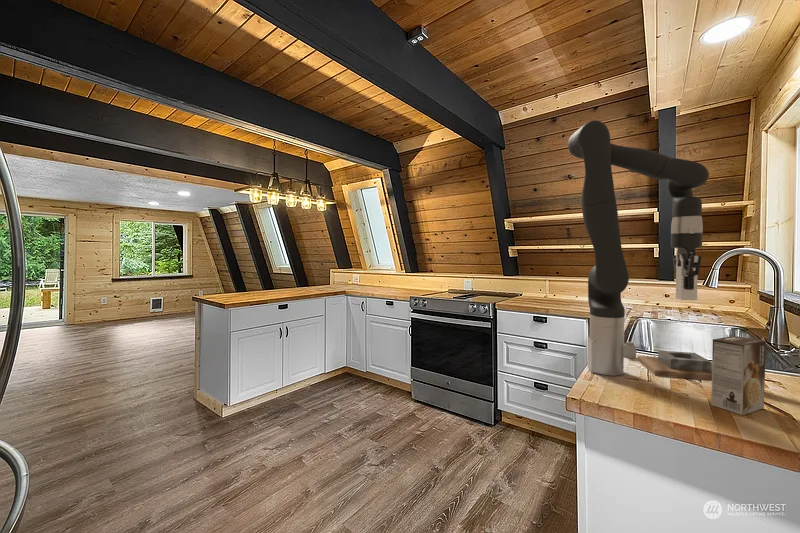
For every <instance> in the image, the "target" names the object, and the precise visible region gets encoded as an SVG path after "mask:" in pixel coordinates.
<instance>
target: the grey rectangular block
mask: <svg viewBox="0 0 800 533" xmlns="http://www.w3.org/2000/svg"><path fill="white" fill-rule="evenodd" d="M628 357H631V358H630V359H637V344H634V342H633V341H626V342H625V343H624V358H628Z"/></svg>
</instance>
